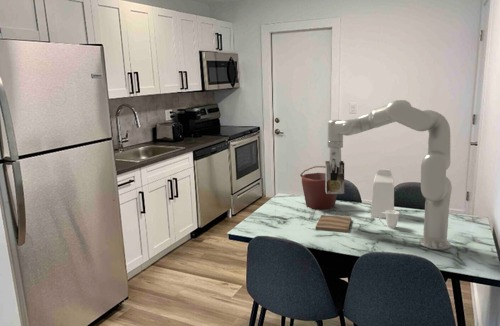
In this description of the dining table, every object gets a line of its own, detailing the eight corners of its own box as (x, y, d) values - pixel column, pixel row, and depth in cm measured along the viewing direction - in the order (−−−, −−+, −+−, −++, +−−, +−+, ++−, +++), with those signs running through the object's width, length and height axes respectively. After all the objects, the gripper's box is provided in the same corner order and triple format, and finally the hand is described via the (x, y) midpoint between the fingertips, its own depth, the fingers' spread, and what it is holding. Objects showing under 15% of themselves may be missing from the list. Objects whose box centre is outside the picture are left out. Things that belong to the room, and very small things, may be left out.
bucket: (345, 204, 238) (346, 164, 234) (333, 213, 219) (334, 170, 215) (308, 199, 250) (308, 161, 246) (294, 208, 231) (294, 167, 227)
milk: (370, 217, 212) (372, 170, 208) (371, 211, 223) (373, 167, 218) (394, 218, 208) (396, 171, 204) (393, 212, 219) (395, 167, 215)
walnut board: (348, 232, 189) (348, 229, 189) (315, 229, 194) (315, 226, 194) (351, 219, 208) (351, 217, 207) (321, 217, 213) (321, 214, 213)
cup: (396, 230, 190) (397, 214, 189) (376, 226, 196) (377, 211, 195) (400, 226, 196) (401, 211, 194) (381, 223, 202) (382, 208, 200)
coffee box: (342, 191, 201) (343, 160, 198) (344, 194, 194) (344, 162, 192) (324, 191, 202) (325, 160, 199) (326, 194, 195) (326, 162, 193)
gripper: (341, 146, 185) (340, 182, 187) (344, 142, 201) (343, 175, 204) (325, 146, 187) (324, 182, 190) (329, 142, 203) (329, 175, 206)
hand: (334, 178), depth 197 cm, fingers closed on coffee box, 7 cm apart
